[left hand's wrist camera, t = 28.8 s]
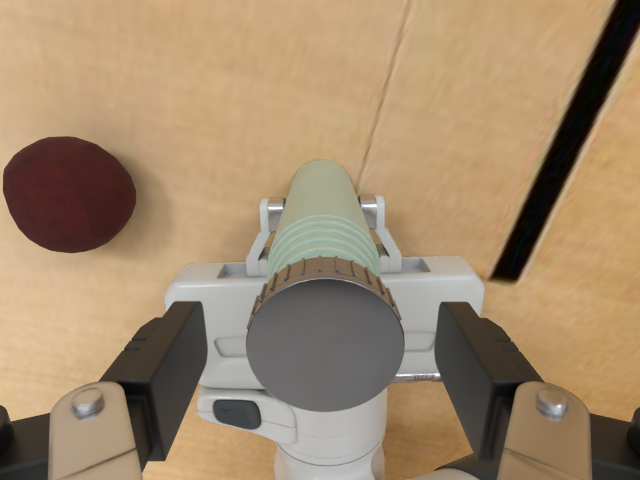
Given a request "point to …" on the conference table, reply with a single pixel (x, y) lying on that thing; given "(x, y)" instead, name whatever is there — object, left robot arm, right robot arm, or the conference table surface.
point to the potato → (68, 194)
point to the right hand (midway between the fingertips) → (321, 197)
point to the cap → (325, 335)
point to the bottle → (322, 220)
